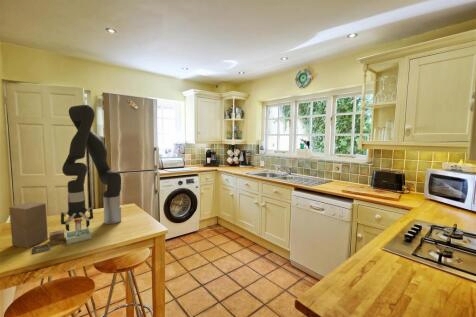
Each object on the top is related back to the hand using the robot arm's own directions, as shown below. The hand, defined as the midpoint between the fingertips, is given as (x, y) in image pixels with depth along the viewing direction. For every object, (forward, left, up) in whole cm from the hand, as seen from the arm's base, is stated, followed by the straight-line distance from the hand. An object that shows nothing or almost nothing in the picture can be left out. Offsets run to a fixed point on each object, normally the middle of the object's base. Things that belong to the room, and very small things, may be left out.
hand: (77, 228), depth 122 cm
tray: (0, 0, -6) cm, 6 cm away
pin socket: (+15, +3, -6) cm, 16 cm away
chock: (+9, -3, -6) cm, 11 cm away
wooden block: (+20, -9, -6) cm, 22 cm away
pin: (0, 0, -5) cm, 5 cm away
